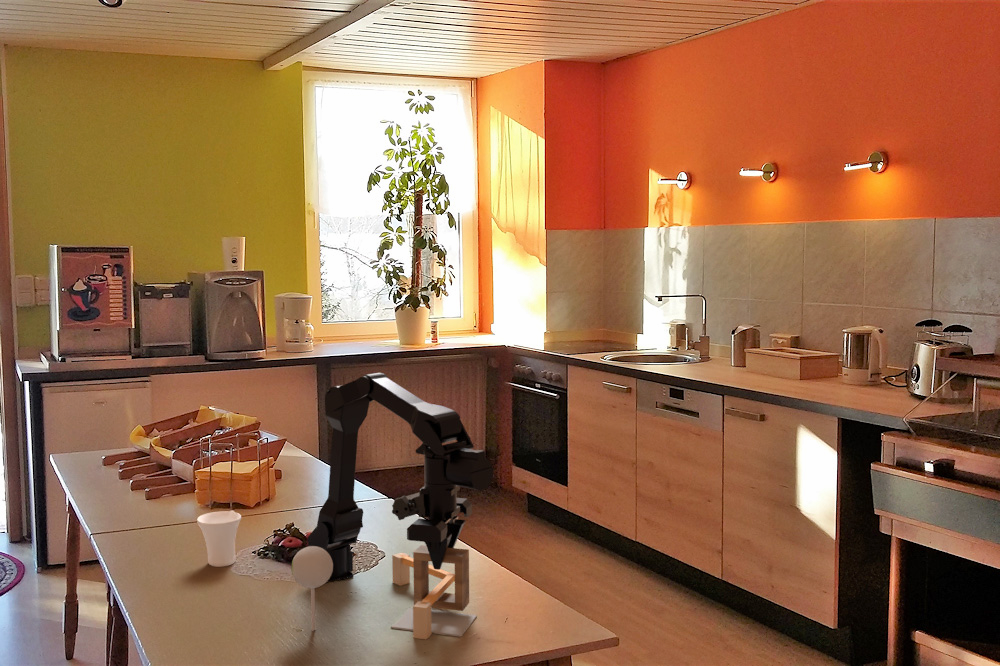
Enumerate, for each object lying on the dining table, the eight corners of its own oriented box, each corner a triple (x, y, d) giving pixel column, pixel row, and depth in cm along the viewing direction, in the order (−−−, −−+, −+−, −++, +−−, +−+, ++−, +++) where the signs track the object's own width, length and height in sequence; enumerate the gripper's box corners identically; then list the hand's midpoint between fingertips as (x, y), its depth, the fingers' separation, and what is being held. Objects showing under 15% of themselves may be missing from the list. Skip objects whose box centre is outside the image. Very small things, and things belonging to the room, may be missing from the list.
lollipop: (295, 622, 176) (293, 541, 174) (335, 621, 177) (334, 540, 175) (290, 639, 169) (288, 554, 167) (332, 638, 170) (330, 553, 168)
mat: (409, 608, 182) (409, 607, 182) (476, 616, 179) (476, 615, 179) (390, 628, 174) (390, 626, 174) (461, 636, 170) (461, 635, 170)
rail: (417, 641, 168) (417, 609, 168) (358, 587, 193) (357, 560, 192) (485, 626, 175) (485, 595, 174) (420, 576, 199) (419, 549, 199)
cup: (252, 558, 210) (251, 512, 209) (222, 572, 201) (221, 524, 200) (219, 552, 214) (217, 507, 212) (189, 565, 205) (187, 519, 204)
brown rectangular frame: (421, 597, 183) (421, 545, 182) (469, 602, 180) (468, 549, 179) (414, 605, 179) (413, 552, 178) (462, 611, 176) (462, 556, 175)
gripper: (416, 465, 188) (417, 545, 190) (378, 491, 170) (379, 578, 172) (472, 469, 185) (473, 550, 187) (439, 495, 167) (440, 584, 169)
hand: (441, 565), depth 179 cm, fingers closed on brown rectangular frame, 4 cm apart
